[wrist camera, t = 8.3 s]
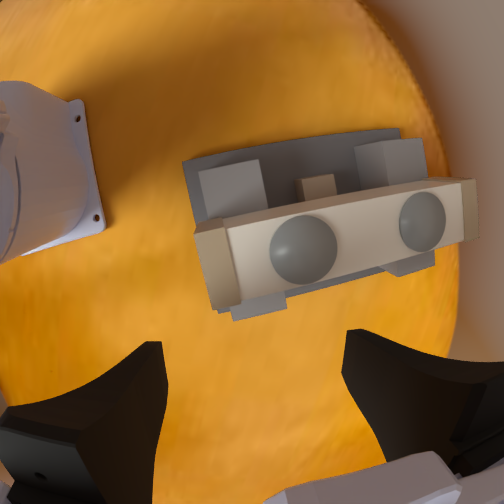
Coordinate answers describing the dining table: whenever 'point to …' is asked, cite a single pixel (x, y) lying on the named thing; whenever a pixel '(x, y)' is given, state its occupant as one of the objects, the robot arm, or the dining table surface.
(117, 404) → the robot arm
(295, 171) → the grey fixture base
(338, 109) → the dining table surface
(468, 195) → the frame bar
